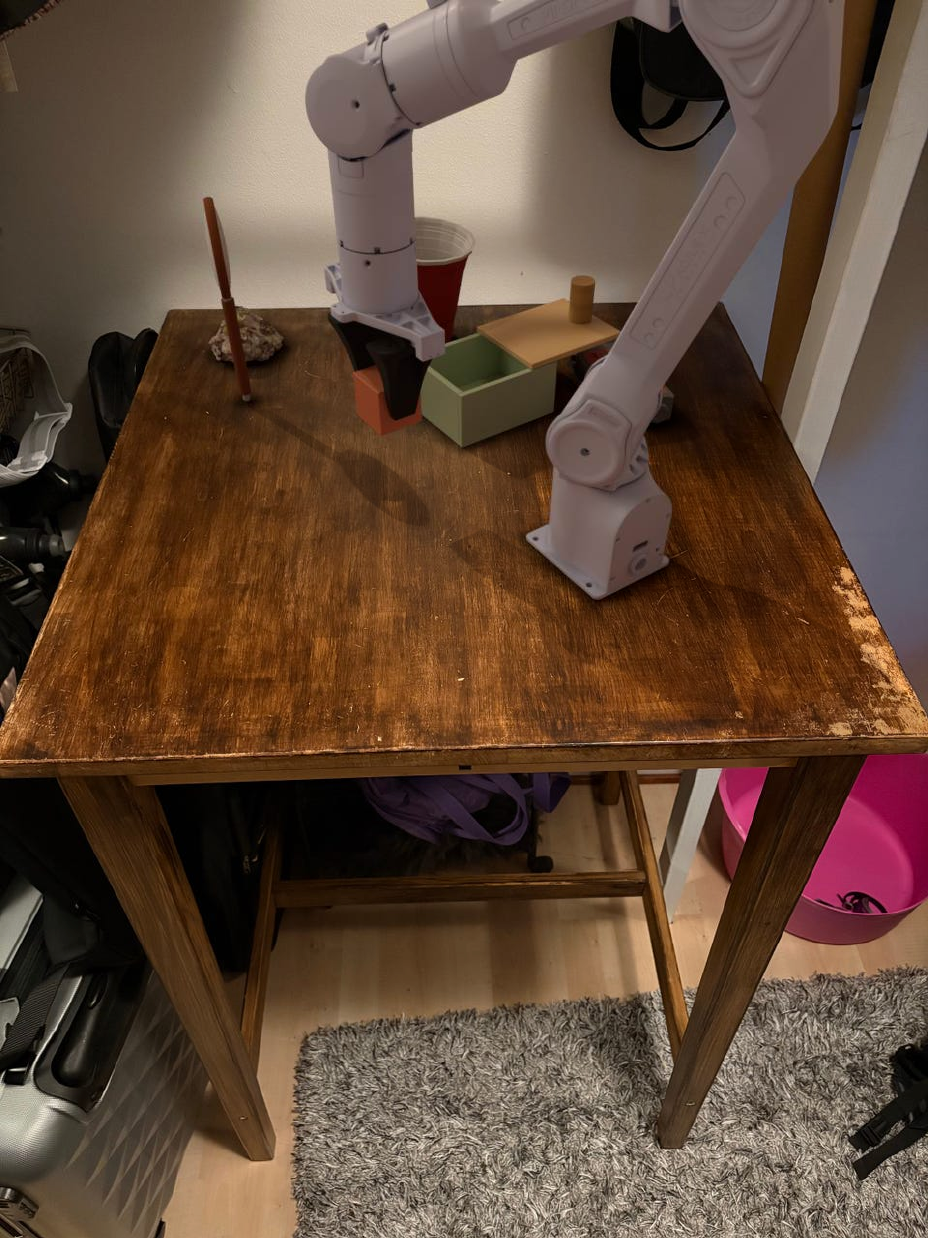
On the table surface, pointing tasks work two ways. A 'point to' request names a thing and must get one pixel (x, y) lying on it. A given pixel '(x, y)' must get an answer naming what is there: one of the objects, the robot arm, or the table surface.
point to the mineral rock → (248, 338)
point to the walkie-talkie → (593, 354)
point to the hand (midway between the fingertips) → (388, 402)
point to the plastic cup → (441, 267)
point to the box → (484, 390)
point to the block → (378, 403)
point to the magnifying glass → (225, 291)
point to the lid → (552, 328)
